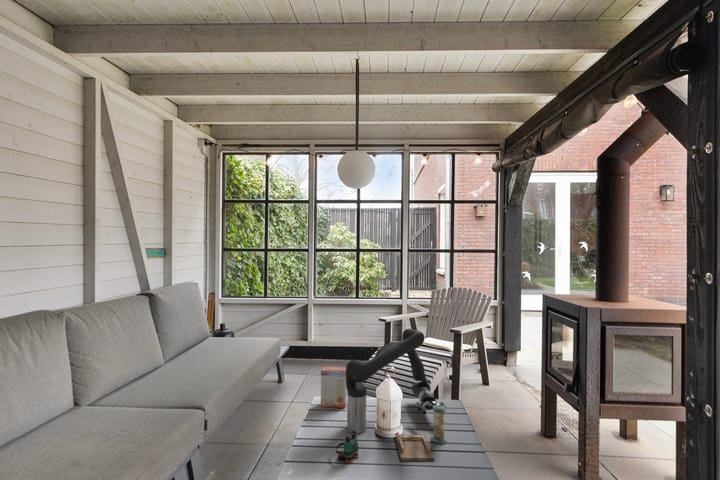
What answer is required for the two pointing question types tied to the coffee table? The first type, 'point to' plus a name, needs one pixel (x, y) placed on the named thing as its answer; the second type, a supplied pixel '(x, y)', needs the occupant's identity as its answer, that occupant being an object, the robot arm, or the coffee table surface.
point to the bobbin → (438, 425)
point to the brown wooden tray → (414, 448)
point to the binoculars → (349, 448)
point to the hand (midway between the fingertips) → (434, 412)
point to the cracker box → (333, 387)
